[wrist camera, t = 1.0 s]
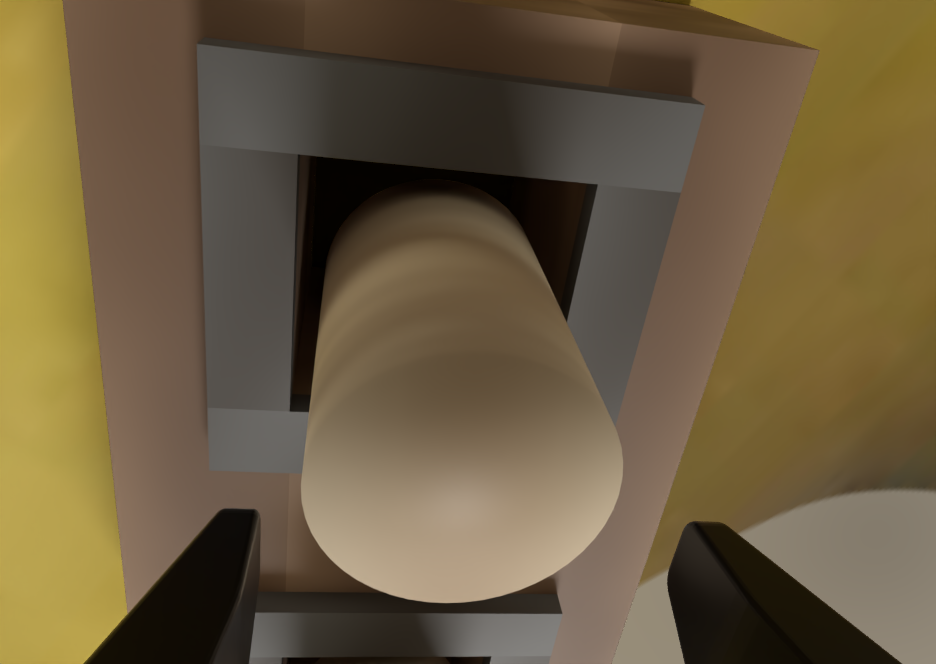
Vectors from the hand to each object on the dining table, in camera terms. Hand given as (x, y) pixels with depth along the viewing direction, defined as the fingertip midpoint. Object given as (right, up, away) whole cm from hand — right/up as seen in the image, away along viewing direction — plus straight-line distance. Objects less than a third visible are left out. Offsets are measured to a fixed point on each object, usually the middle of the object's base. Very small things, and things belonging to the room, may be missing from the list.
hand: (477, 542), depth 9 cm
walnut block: (-2, +1, +14) cm, 14 cm away
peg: (-1, +4, +6) cm, 8 cm away
